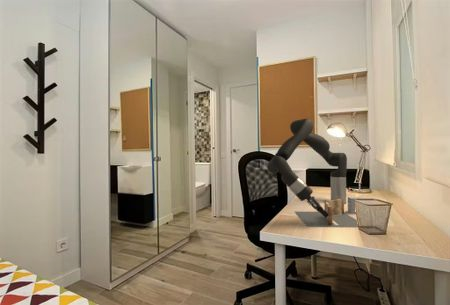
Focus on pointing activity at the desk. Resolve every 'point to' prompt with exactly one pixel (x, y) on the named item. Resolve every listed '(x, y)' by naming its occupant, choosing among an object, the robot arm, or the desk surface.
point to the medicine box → (352, 204)
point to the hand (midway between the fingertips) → (326, 216)
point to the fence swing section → (329, 213)
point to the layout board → (320, 221)
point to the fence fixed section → (336, 206)
